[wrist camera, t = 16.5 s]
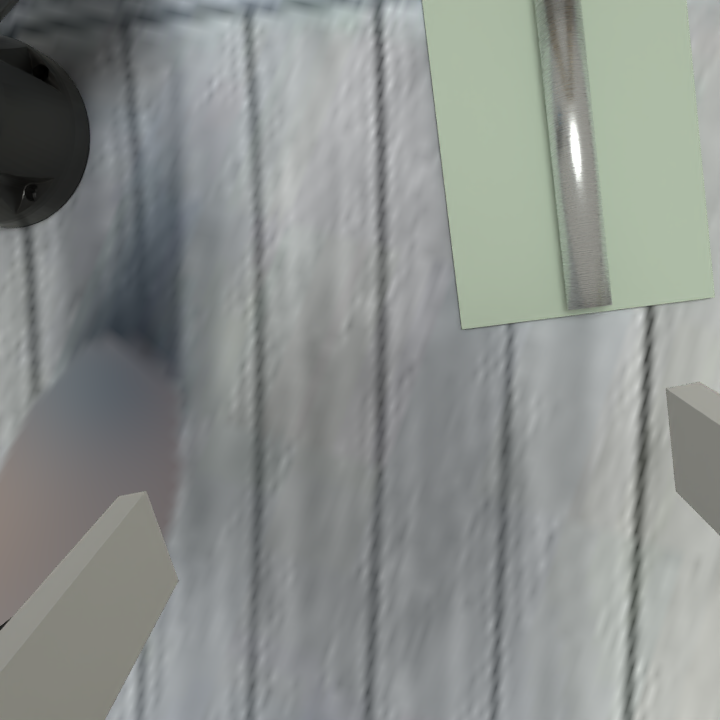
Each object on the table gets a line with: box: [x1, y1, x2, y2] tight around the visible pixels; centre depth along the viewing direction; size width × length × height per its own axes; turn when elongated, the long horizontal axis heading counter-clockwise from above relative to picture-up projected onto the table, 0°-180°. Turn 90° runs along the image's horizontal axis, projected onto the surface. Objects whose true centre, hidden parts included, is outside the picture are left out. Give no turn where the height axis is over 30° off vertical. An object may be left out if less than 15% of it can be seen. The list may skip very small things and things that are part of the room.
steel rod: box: [534, 0, 612, 310], centre depth 41 cm, size 24×3×3 cm, turn 8°
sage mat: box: [422, 0, 715, 329], centre depth 43 cm, size 28×18×1 cm, turn 8°
